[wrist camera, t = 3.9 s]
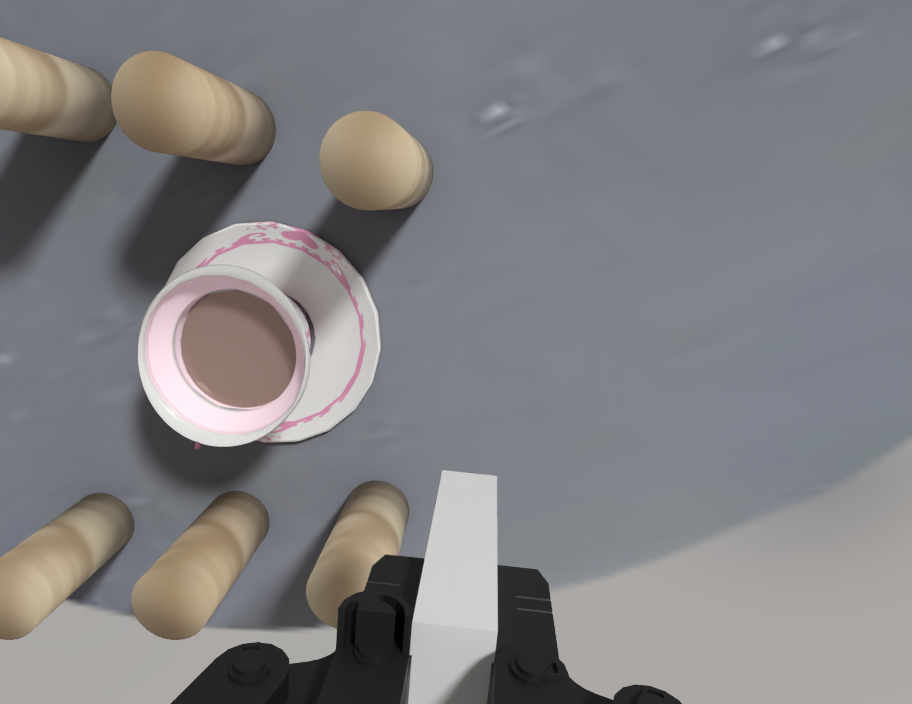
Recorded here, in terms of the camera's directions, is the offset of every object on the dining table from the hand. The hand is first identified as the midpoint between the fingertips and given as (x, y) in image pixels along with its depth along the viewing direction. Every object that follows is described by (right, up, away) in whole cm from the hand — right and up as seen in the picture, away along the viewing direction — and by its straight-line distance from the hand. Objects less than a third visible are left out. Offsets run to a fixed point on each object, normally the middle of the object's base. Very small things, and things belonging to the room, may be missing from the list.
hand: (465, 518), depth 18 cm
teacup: (-10, +6, +17) cm, 20 cm away
